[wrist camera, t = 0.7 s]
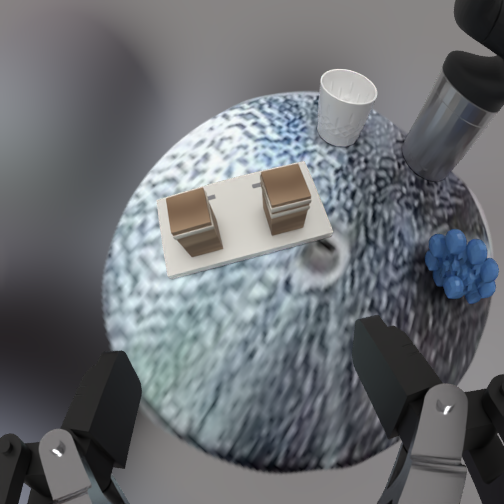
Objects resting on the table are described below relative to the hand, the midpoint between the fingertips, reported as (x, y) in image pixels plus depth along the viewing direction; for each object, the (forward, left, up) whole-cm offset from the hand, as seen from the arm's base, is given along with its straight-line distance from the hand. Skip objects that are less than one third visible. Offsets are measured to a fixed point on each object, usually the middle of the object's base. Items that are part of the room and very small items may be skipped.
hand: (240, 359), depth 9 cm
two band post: (-11, -11, -23) cm, 28 cm away
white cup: (-28, -19, -25) cm, 42 cm away
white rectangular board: (-7, -15, -25) cm, 30 cm away
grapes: (-23, +8, -25) cm, 35 cm away
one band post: (-2, -15, -23) cm, 27 cm away
